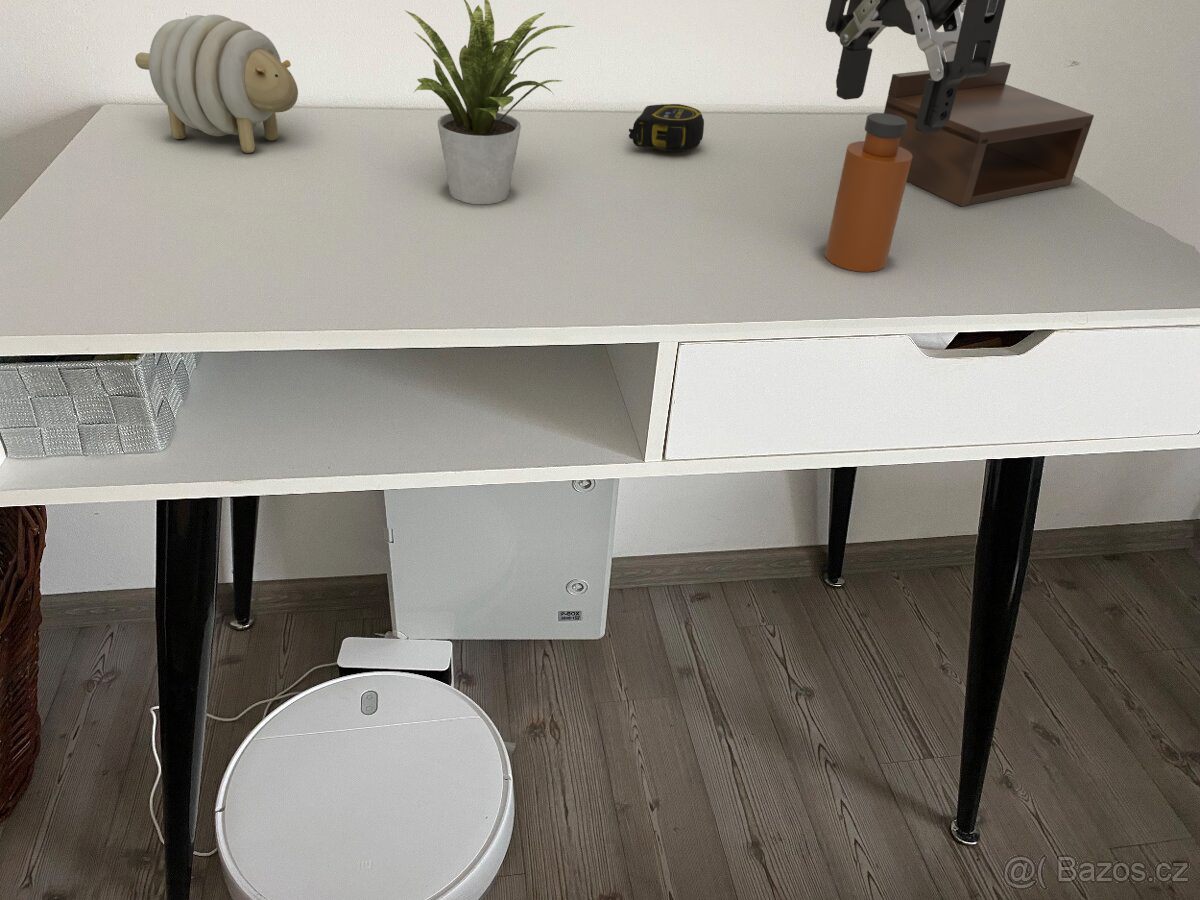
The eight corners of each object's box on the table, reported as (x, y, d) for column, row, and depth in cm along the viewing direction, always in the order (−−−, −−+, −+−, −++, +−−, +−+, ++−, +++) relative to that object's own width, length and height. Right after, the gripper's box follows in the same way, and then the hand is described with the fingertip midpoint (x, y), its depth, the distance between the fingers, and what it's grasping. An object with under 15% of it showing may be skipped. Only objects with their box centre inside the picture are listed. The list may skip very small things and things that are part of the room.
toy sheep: (274, 169, 91) (258, 39, 85) (109, 141, 94) (82, 14, 88) (329, 134, 100) (319, 15, 93) (176, 110, 103) (156, -8, 96)
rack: (1070, 184, 102) (1101, 94, 97) (960, 206, 95) (988, 110, 90) (979, 147, 111) (1003, 61, 105) (871, 164, 103) (892, 74, 98)
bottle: (898, 265, 83) (934, 125, 76) (853, 276, 81) (886, 132, 74) (856, 242, 86) (887, 106, 80) (812, 252, 84) (840, 112, 77)
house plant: (600, 215, 87) (614, 14, 78) (452, 240, 81) (448, 24, 72) (523, 161, 97) (528, -23, 88) (386, 179, 91) (376, -17, 82)
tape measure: (643, 133, 107) (646, 97, 105) (707, 143, 105) (711, 106, 103) (626, 152, 101) (629, 115, 99) (693, 163, 100) (698, 125, 98)
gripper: (1068, -115, 64) (992, 138, 74) (907, -143, 74) (858, 83, 83) (987, -116, 61) (919, 149, 70) (830, -146, 71) (788, 91, 80)
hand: (886, 113), depth 77 cm, fingers open, 8 cm apart
